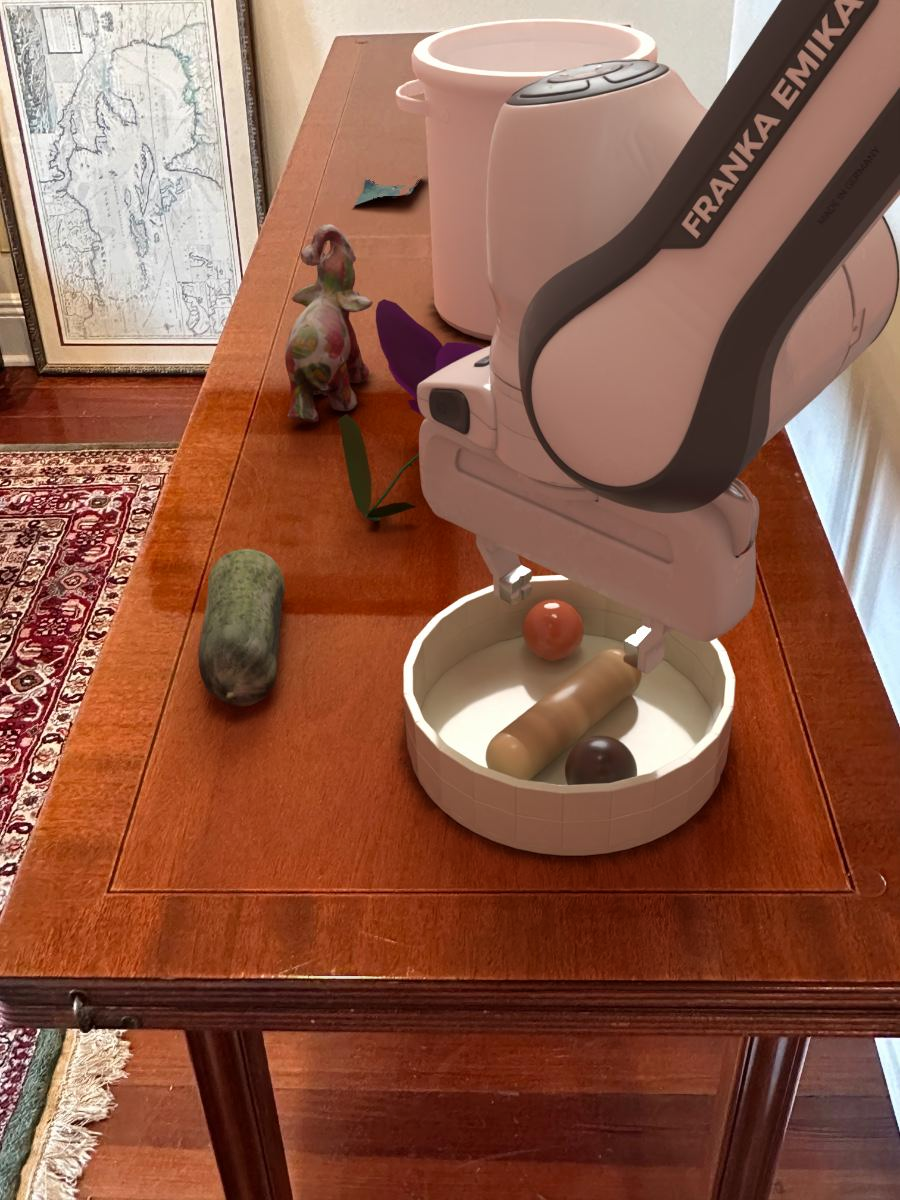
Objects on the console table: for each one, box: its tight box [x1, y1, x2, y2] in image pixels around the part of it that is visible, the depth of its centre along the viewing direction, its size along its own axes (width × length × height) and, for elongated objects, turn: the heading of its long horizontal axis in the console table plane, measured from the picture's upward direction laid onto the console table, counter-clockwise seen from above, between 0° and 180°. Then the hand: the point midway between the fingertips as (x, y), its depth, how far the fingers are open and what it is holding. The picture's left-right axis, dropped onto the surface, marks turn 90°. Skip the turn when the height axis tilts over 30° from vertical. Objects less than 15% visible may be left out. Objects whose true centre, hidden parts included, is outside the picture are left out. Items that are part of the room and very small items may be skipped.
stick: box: [485, 648, 642, 781], centre depth 71 cm, size 13×3×3 cm
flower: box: [336, 298, 484, 522], centre depth 92 cm, size 15×15×14 cm
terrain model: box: [353, 179, 419, 206], centre depth 152 cm, size 13×8×2 cm, turn 170°
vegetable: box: [197, 548, 286, 708], centre depth 78 cm, size 14×5×5 cm, turn 4°
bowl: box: [402, 574, 737, 857], centre depth 71 cm, size 19×19×5 cm
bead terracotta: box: [522, 599, 584, 661], centre depth 77 cm, size 4×4×4 cm
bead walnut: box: [565, 736, 637, 785], centre depth 66 cm, size 4×4×4 cm
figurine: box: [284, 223, 373, 423], centre depth 104 cm, size 8×12×15 cm, turn 146°
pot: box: [395, 18, 659, 343], centre depth 115 cm, size 26×22×25 cm
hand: (575, 628), depth 68 cm, fingers open, 8 cm apart
